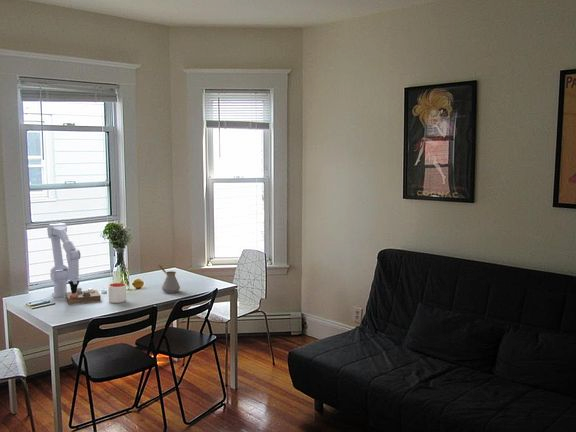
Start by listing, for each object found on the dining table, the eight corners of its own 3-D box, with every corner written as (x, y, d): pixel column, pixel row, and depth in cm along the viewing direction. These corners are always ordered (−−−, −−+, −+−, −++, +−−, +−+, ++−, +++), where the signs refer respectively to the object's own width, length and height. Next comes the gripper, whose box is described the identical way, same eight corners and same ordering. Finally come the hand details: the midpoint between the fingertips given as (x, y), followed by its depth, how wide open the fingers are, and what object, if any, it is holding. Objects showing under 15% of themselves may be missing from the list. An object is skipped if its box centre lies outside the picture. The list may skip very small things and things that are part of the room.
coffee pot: (183, 292, 355) (183, 269, 353) (167, 295, 347) (167, 271, 345) (166, 285, 371) (166, 263, 369) (150, 288, 363) (151, 265, 361)
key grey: (75, 293, 334) (75, 287, 333) (81, 292, 335) (81, 286, 335) (75, 294, 331) (75, 288, 330) (81, 294, 332) (81, 288, 332)
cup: (107, 303, 325) (107, 287, 324) (109, 299, 335) (109, 283, 333) (125, 303, 327) (125, 286, 326) (126, 298, 337) (126, 282, 335)
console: (65, 298, 333) (65, 292, 333) (96, 295, 342) (96, 289, 341) (68, 304, 321) (68, 298, 321) (100, 301, 329) (100, 295, 329)
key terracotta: (70, 298, 326) (70, 292, 326) (76, 298, 328) (76, 292, 327) (71, 300, 323) (71, 294, 323) (77, 299, 325) (77, 293, 324)
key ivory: (87, 294, 337) (87, 288, 337) (93, 293, 339) (93, 287, 338) (88, 295, 334) (88, 289, 334) (94, 295, 336) (94, 289, 335)
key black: (83, 297, 329) (82, 291, 329) (89, 297, 331) (88, 291, 331) (83, 299, 327) (83, 293, 326) (89, 298, 328) (89, 292, 328)
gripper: (82, 272, 319) (82, 295, 321) (79, 267, 332) (79, 289, 333) (69, 273, 316) (69, 296, 317) (66, 268, 328) (66, 290, 330)
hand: (73, 293), depth 325 cm, fingers closed, pressing on key terracotta
